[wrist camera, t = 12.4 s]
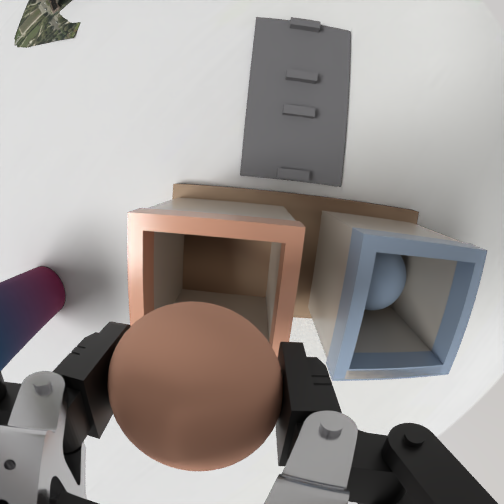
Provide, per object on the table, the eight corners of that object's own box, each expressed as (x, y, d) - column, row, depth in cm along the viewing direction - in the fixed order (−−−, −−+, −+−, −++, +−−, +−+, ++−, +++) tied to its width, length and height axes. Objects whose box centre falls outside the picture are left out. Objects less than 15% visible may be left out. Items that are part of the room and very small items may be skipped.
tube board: (177, 183, 24) (173, 184, 23) (412, 209, 25) (418, 211, 24) (172, 299, 27) (169, 305, 26) (390, 316, 27) (395, 321, 26)
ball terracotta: (136, 271, 11) (56, 341, 5) (286, 284, 11) (310, 375, 6) (144, 388, 12) (101, 481, 7) (269, 403, 12) (275, 507, 7)
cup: (29, 245, 26) (-80, 296, 11) (79, 278, 27) (-27, 355, 12) (20, 299, 27) (-70, 363, 13) (66, 331, 28) (-18, 416, 14)
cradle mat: (256, 18, 21) (256, 12, 20) (349, 32, 21) (353, 27, 20) (240, 175, 24) (239, 175, 23) (339, 186, 24) (343, 187, 23)
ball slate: (337, 230, 24) (356, 246, 19) (395, 237, 24) (425, 254, 19) (326, 292, 25) (342, 321, 20) (383, 296, 25) (407, 323, 20)
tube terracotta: (177, 196, 24) (127, 212, 14) (284, 205, 24) (305, 227, 14) (174, 295, 26) (133, 361, 16) (273, 305, 26) (282, 379, 16)
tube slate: (321, 209, 24) (363, 234, 14) (413, 221, 24) (487, 250, 14) (306, 308, 26) (332, 380, 16) (394, 312, 26) (448, 374, 16)
